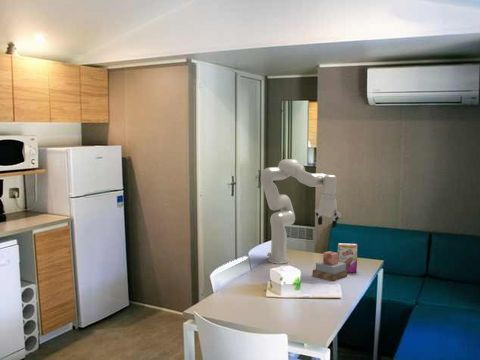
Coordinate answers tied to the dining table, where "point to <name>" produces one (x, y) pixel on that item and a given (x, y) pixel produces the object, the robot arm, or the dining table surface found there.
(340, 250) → the candy bar box
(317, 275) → the walnut base slab
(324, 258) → the brick-red cube
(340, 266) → the grey top slab
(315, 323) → the dining table surface
